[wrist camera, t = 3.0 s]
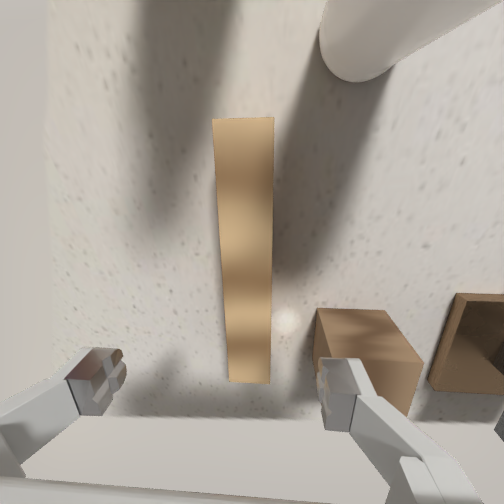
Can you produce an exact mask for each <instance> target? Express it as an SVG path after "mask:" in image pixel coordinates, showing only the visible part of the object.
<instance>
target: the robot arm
mask: <svg viewBox="0 0 504 504" xmlns="http://www.w3.org/2000/svg"><path fill="white" fill-rule="evenodd" d="M122 357H123V353H122V350H120V349H114V348H100V347H83V348H81V349H79V350H78V351H77V352H76V353H75V354H74V355H73V356H72V357H71V358H70V359H69V360H68V361H67V362H66V363H65V364H64V365H63V366H62V367H61V368H60V369H59V370H58V371H57V372H56V373H55V374H54V375H53V376H52V377H51V378H50V379H44V380H42V381H40V382H38V383H36V384H35V385H33V386H31V387H29V388H27V389H25V390H23V391H21V392H20V393H17V394H15V395H14V396H12V397H10V398H8V399H6V400H4V401H2V402H0V504H330V503H318V502H306V501H305V502H304V501H294V500H282V499H269V498H258V497H246V496H233V495H222V494H210V493H197V492H186V491H174V490H162V489H150V488H138V487H125V486H113V485H101V484H89V483H77V482H65V481H52V480H41V479H28V478H25V477H26V476H25V473H24V471H23V469H22V468H21V466H20V465H21V464H22V463H23V462H24V461H26V460H27V459H28V458H29V457H31V456H32V455H33V454H34V453H35V452H37V451H38V450H39V449H41V448H42V447H43V446H44V445H46V444H47V443H48V442H49V441H51V440H52V439H53V438H54V437H56V436H57V435H58V434H59V433H60V432H62V431H63V430H64V429H66V428H67V427H68V426H69V425H71V424H72V423H73V422H74V421H75V420H77V419H78V418H79V417H80V415H84V416H102V415H103V414H104V412H105V411H106V409H107V408H108V406H109V405H110V403H111V402H112V400H113V393H115V392H116V391H118V390H119V389H120V388H121V386H122V385H123V383H124V381H125V378H126V372H127V369H126V364H125V363H124V362H122V361H121V359H122ZM318 367H319V372H318V373H317V379H316V384H317V394H318V399H319V401H320V402H321V403H322V408H321V414H322V418H323V423H324V428H325V430H330V431H340V432H341V431H342V432H350V433H349V434H350V435H351V437H352V438H353V439H354V440H355V442H356V443H357V444H358V446H359V447H360V448H361V449H362V451H363V452H364V453H365V455H366V456H367V457H368V458H369V460H370V461H371V462H372V464H373V465H374V466H375V468H376V469H377V470H378V472H379V473H380V474H381V475H382V477H383V478H384V479H385V481H386V482H387V483H388V485H389V486H390V490H389V493H388V496H387V499H386V503H385V504H484V503H483V502H482V500H481V498H480V497H479V495H478V494H477V492H476V490H475V489H474V487H473V486H472V484H471V482H470V481H469V479H468V478H467V476H466V474H465V473H464V471H463V470H462V468H461V467H460V465H459V463H458V462H457V460H456V459H455V458H454V457H453V456H451V455H450V454H449V453H448V452H447V451H445V450H444V449H443V448H442V447H441V446H440V445H439V444H437V443H436V442H435V441H434V440H433V439H432V438H430V437H429V436H428V435H427V434H425V433H424V432H423V431H422V430H421V429H420V428H418V427H417V426H416V425H415V424H414V423H413V422H411V421H410V420H409V419H408V418H407V417H406V416H404V415H403V414H402V413H401V412H400V411H398V410H397V409H396V408H395V407H394V406H392V405H391V404H390V403H389V402H388V401H387V400H385V399H384V398H383V397H380V396H377V394H376V392H375V390H374V387H373V385H372V383H371V381H370V379H369V377H368V375H367V372H366V370H365V368H364V366H363V364H362V362H361V360H360V359H359V358H328V357H319V360H318Z"/></svg>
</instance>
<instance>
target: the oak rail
mask: <svg viewBox="0 0 504 504" xmlns="http://www.w3.org/2000/svg"><path fill="white" fill-rule="evenodd" d="M212 129H213V144H214V159H215V174H216V189H217V204H218V219H219V234H220V249H221V264H222V279H223V294H224V309H225V324H226V339H227V354H228V369H229V382H242V383H259V384H270V355H271V294H272V232H273V171H274V117H261V118H229V119H212Z"/></svg>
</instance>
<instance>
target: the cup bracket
mask: <svg viewBox="0 0 504 504" xmlns="http://www.w3.org/2000/svg"><path fill="white" fill-rule="evenodd" d="M427 380H428V382H429V383H430V385H431V386H432V387H433V389H434V390H435V391H448V392H464V393H480V394H496V395H504V294H472V293H456V296H455V299H454V302H453V305H452V308H451V311H450V314H449V317H448V320H447V323H446V326H445V329H444V332H443V335H442V337H441V340H440V343H439V346H438V349H437V352H436V355H435V358H434V361H433V364H432V367H431V370H430V373H429V376H428V379H427ZM494 430H495V432H496V433H497V434H498V435H499V436H500V438H501V439H502V440H503V441H504V411H503V413H502V415H501V417H500V419H499V421H498V423H497V425H496V427H495V429H494Z"/></svg>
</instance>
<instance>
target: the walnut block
mask: <svg viewBox="0 0 504 504" xmlns="http://www.w3.org/2000/svg"><path fill="white" fill-rule="evenodd" d="M319 357H328V358H359V359H360V360H361V362H362V364H363V366H364V368H365V370H366V372H367V375H368V377H369V379H370V381H371V383H372V385H373V387H374V390H375V392H376V394H377V396H380V397H383V398H384V399H385V400H387V401H388V402H389V403H390V404H391V405H392V406H394V407H395V408H396V409H397V410H398V411H400V412H401V413H402V414H403V415H404V416H406V417H407V415H408V412H409V409H410V405H411V402H412V399H413V396H414V393H415V390H416V387H417V384H418V380H419V377H420V374H421V371H422V368H423V365H424V362H423V361H422V359H421V358H420V357H419V355H418V354H417V353H416V351H415V350H414V349H413V347H412V346H411V345H410V343H409V342H408V341H407V339H406V338H405V337H404V335H403V334H402V333H401V331H400V330H399V329H398V327H397V326H396V325H395V323H394V322H393V321H392V319H391V318H390V317H389V315H388V314H387V312H386V311H385V310H360V309H333V308H317V315H316V325H315V335H314V345H313V355H312V360H313V365H314V370H315V375H316V379H317V373H318V372H319V367H318V360H319ZM321 406H322V403H321Z"/></svg>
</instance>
